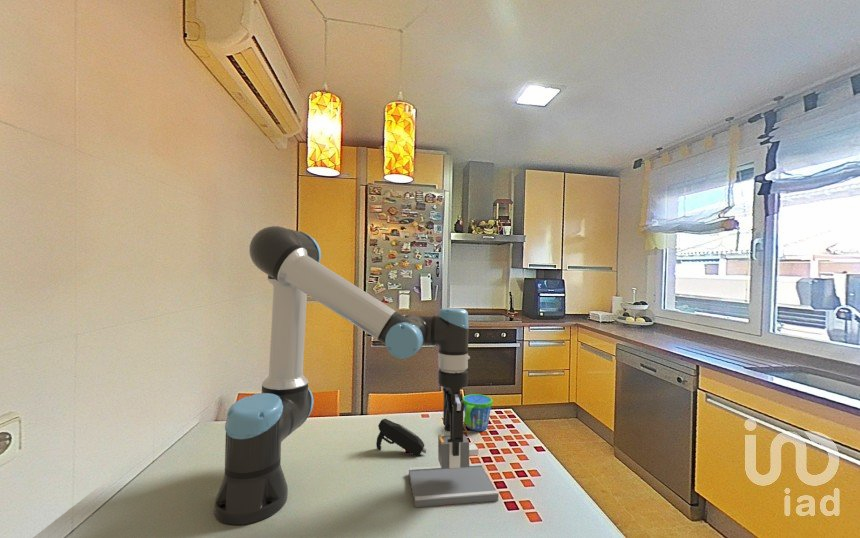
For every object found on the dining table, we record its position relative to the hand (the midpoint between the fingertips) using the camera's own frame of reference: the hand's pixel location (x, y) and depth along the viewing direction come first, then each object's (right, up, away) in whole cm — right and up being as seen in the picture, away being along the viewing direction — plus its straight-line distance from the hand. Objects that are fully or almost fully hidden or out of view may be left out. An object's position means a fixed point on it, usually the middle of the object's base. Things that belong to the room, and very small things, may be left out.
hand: (452, 461), depth 94 cm
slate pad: (0, -6, 0) cm, 6 cm away
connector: (+2, 0, 0) cm, 2 cm away
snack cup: (+11, -7, +37) cm, 39 cm away
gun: (-14, -7, +18) cm, 24 cm away
